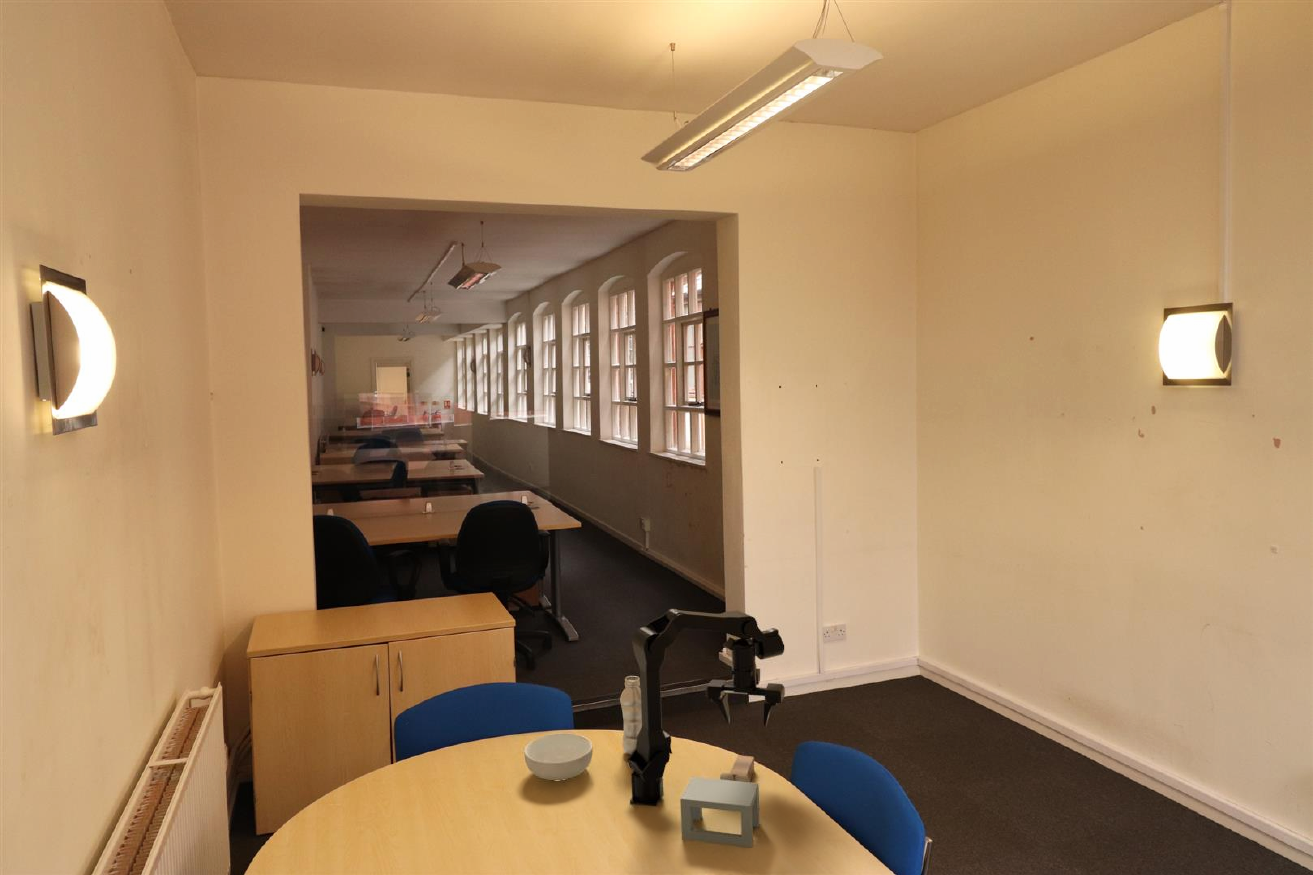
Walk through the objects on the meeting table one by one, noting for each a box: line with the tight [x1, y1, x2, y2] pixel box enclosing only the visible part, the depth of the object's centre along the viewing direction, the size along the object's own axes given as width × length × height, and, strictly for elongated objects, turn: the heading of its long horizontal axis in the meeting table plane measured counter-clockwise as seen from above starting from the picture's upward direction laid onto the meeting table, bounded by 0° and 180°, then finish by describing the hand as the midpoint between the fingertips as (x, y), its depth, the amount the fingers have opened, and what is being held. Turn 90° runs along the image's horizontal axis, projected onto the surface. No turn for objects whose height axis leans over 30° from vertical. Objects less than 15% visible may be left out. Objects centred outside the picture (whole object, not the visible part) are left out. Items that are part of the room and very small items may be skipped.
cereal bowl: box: [523, 732, 594, 781], centre depth 216 cm, size 17×17×7 cm
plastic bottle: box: [619, 675, 642, 756], centre depth 226 cm, size 6×7×20 cm
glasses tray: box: [719, 755, 755, 783], centre depth 206 cm, size 18×7×5 cm, turn 163°
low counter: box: [679, 776, 761, 849], centre depth 187 cm, size 15×10×9 cm, turn 73°
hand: (746, 724), depth 214 cm, fingers open, 9 cm apart
